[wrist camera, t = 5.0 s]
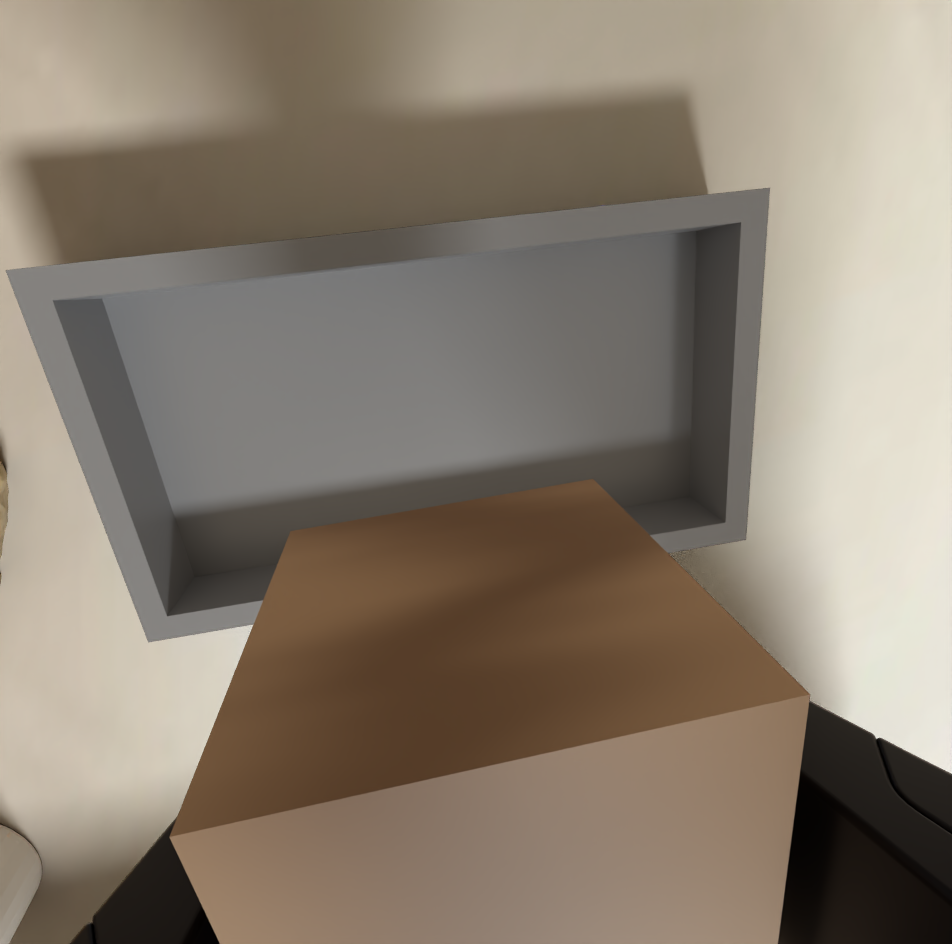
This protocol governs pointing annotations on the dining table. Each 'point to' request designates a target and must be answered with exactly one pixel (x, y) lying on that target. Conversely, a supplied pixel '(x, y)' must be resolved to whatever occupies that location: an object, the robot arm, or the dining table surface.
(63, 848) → the dining table surface
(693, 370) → the grey tray
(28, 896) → the coffee cup
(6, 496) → the pastry
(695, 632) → the walnut block
